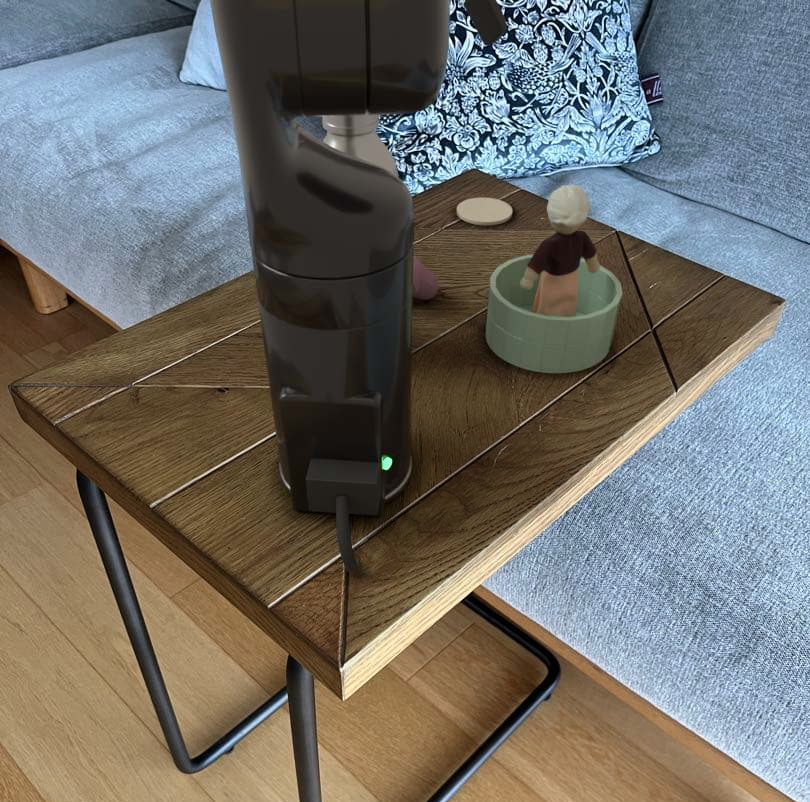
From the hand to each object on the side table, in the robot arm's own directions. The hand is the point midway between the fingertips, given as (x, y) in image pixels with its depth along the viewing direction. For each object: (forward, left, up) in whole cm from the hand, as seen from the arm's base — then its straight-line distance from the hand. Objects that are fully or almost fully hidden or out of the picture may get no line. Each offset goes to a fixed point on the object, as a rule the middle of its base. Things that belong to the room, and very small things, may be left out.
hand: (462, 50), depth 62 cm
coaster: (+17, -3, -20) cm, 26 cm away
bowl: (-7, -9, -20) cm, 23 cm away
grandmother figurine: (-7, -9, -20) cm, 23 cm away
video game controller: (-1, +6, -20) cm, 21 cm away
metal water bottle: (-11, +7, -20) cm, 24 cm away
